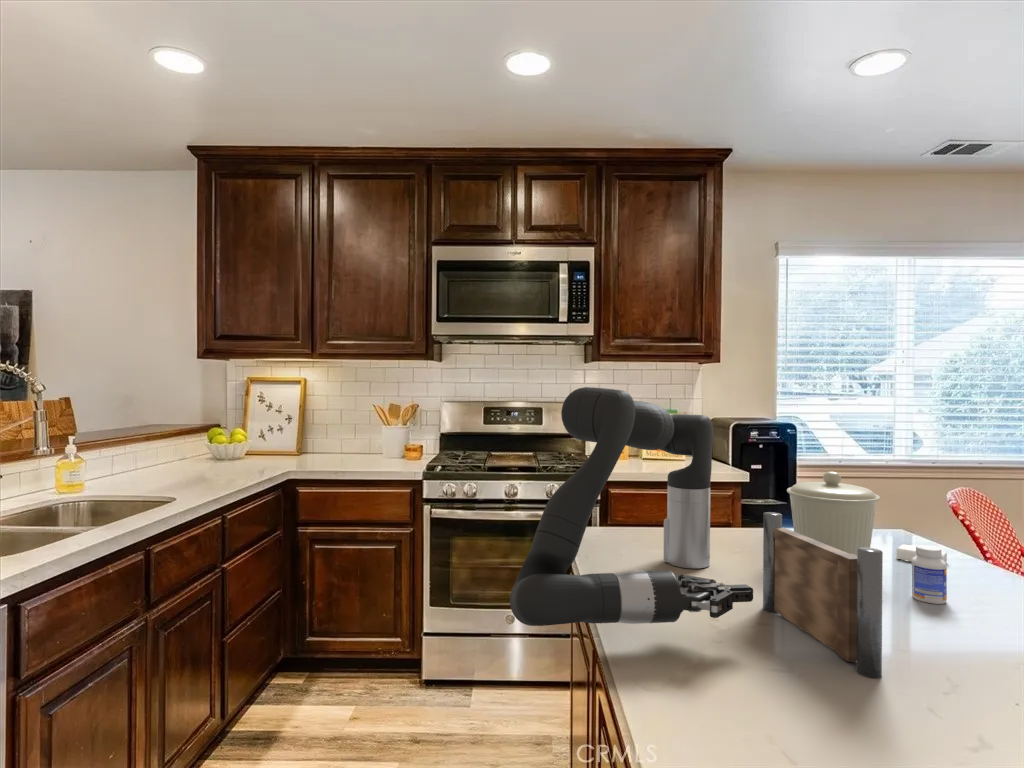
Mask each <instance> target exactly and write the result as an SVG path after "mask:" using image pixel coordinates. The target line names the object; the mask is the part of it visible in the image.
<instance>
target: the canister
mask: <svg viewBox="0 0 1024 768" xmlns="http://www.w3.org/2000/svg"><path fill="white" fill-rule="evenodd" d="M822 479H823V481H805V482H804V481H803V482H799V483H795V484H794V485H792V486H791V487H788V488H787V489H786V492H787V493H788V494H789V498H790V499H789V500H790V509H791V516H792V526H793V531H794V532H796V533H799V534H801V535H804V536H806V537H809V538H811V539H814V540H816V541H819V542H821V543H824V544H826V545H829V546H831V547H834V548H836V549H839V550H841V551H844V552H846V553H849V554H854V555H857V548H861V547H866V548H871V544H872V537H873V529H874V522H875V516H876V508H877V507H876V506H877V502H878V501H880V499H881V496H880V495H878V494H876V493H874V491H872V490H871V489H869V488H867V487H864V486H860V485H855V484H849V483H843V482H842V483H841V481H842V476H841V474H839V472H836V471H827V472H825V473H824V474H823V476H822Z"/></svg>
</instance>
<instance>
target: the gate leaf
mask: <svg viewBox="0 0 1024 768" xmlns="http://www.w3.org/2000/svg"><path fill="white" fill-rule="evenodd" d="M774 538H775V592H774V611H776V612H777V613H776V614H778V615H780V616H782V617H783V618H785V619H786V620H788V621H790V622H791V623H793V624H794V625H795V626H797V627H799V628H800V629H801V630H803V631H804V632H806V633H808V634H809V635H811V636H813V638H815V639H817V640H819V641H820V642H822V643H823V644H825V645H826V646H827V647H829V648H831V649H832V650H833V651H835V652H836V654H837V655H838V656H839V657H840V658H842V659H844V660H845V661H847V662H848V663H849V662H857V555H854V554H849V553H846V552H844V551H841V550H839V549H836V548H834V547H831V546H829V545H826V544H824V543H821V542H819V541H816V540H814V539H811V538H809V537H806V536H804V535H801V534H799V533H796V532H794V530H791V529H788V528H786V527H782V528H774Z"/></svg>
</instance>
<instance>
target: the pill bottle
mask: <svg viewBox="0 0 1024 768" xmlns="http://www.w3.org/2000/svg"><path fill="white" fill-rule="evenodd" d="M915 546H916V554H917V556H916V557H914V558H913V559H912V562H911V596H912V597H913V598H914V599H915V600H917V601H919V602H922V603H923V602H924V603H926V604H927V603H928V604H933V605H942V604H943V605H944V604H946V603H947V601H948V600H947V599H948V596H947V595H948V593H947V592H948V590H947V589H948V588H947V584H948V583H947V581H948V579H947V577H948V576H947V563H945V562H944V561H943V560H941V559H940V557H942V551H943V550H942V548H940V547H938V546H934V545H926V544H919V545H915Z"/></svg>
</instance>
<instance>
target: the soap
mask: <svg viewBox="0 0 1024 768" xmlns="http://www.w3.org/2000/svg"><path fill="white" fill-rule="evenodd" d="M916 546H917V545H911V544H909V545H908V544H900V546H899V547H897V548H896V556H895V557H896V560H898V559H902V560H901V561H903V560H908V561H907V562H909V561H912V559H913V558H914V557H916V556H917V554H916ZM940 559H941V560H943V561H944V562H945V563H946V564H947V562H948V553H947V552H946V551H945V550H942V557H940Z"/></svg>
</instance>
